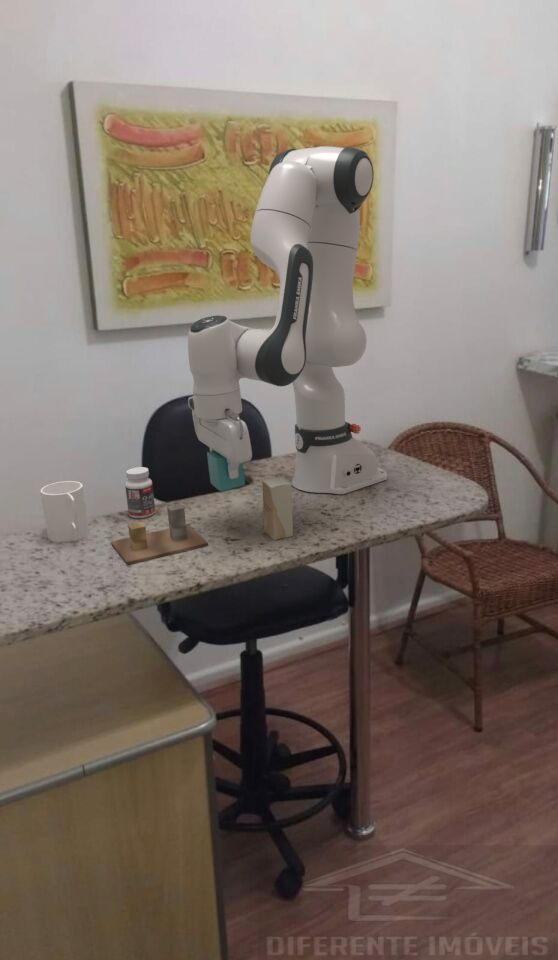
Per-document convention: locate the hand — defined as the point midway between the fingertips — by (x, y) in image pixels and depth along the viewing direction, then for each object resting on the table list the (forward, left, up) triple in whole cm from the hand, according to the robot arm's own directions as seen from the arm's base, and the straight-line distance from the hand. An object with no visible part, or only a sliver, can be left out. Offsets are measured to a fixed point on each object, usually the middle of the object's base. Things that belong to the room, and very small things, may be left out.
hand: (226, 472), depth 147 cm
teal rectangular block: (0, 0, -3) cm, 2 cm away
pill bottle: (+13, -19, -12) cm, 26 cm away
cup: (+29, -15, -12) cm, 35 cm away
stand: (+15, -1, -12) cm, 19 cm away
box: (-7, +7, -12) cm, 16 cm away
